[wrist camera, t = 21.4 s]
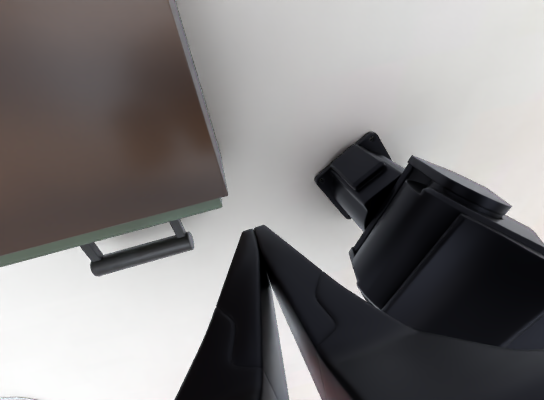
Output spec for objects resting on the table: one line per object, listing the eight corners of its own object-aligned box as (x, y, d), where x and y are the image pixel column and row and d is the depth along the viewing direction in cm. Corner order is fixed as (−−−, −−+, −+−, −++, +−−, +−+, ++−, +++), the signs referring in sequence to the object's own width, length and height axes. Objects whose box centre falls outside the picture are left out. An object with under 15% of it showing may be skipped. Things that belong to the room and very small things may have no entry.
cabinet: (220, 154, 20) (228, 196, 15) (20, 203, 18) (-56, 271, 13) (135, -134, 12) (82, -280, 7) (-232, -91, 10) (-707, -236, 5)
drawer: (231, 218, 22) (238, 256, 18) (69, 262, 21) (38, 315, 17) (141, -70, 12) (113, -122, 9) (-177, -24, 11) (-391, -60, 7)
